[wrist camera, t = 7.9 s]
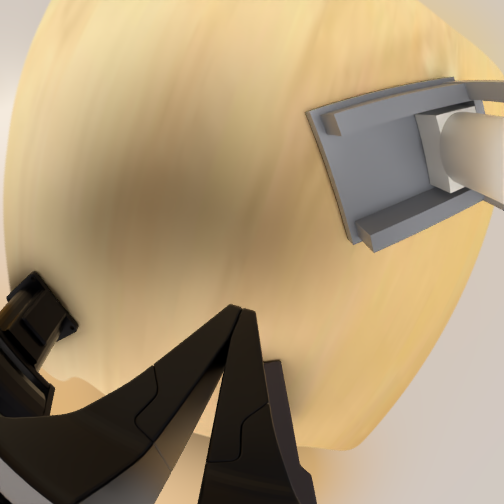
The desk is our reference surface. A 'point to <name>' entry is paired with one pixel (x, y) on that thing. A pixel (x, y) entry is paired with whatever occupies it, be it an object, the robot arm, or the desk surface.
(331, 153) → the mount
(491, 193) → the teal-lidded white jar
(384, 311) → the desk surface
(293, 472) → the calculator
